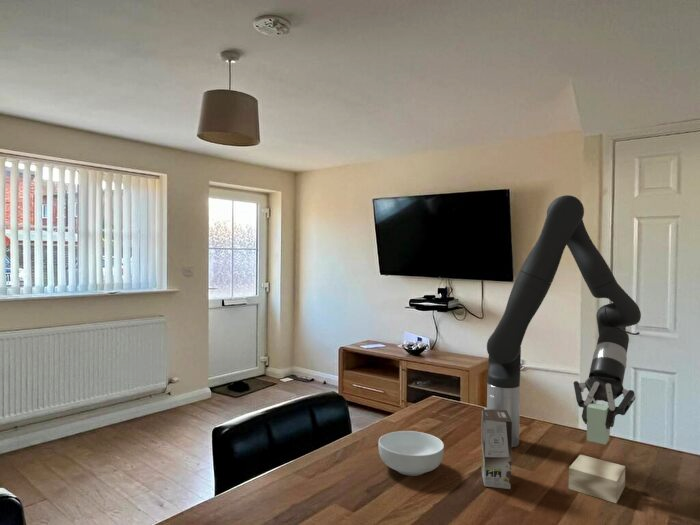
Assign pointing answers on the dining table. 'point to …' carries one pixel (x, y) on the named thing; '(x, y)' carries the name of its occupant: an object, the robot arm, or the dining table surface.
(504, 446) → the coffee box
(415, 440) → the cereal bowl
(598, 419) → the sage block
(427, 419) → the dining table surface
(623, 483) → the maple block
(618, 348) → the robot arm
